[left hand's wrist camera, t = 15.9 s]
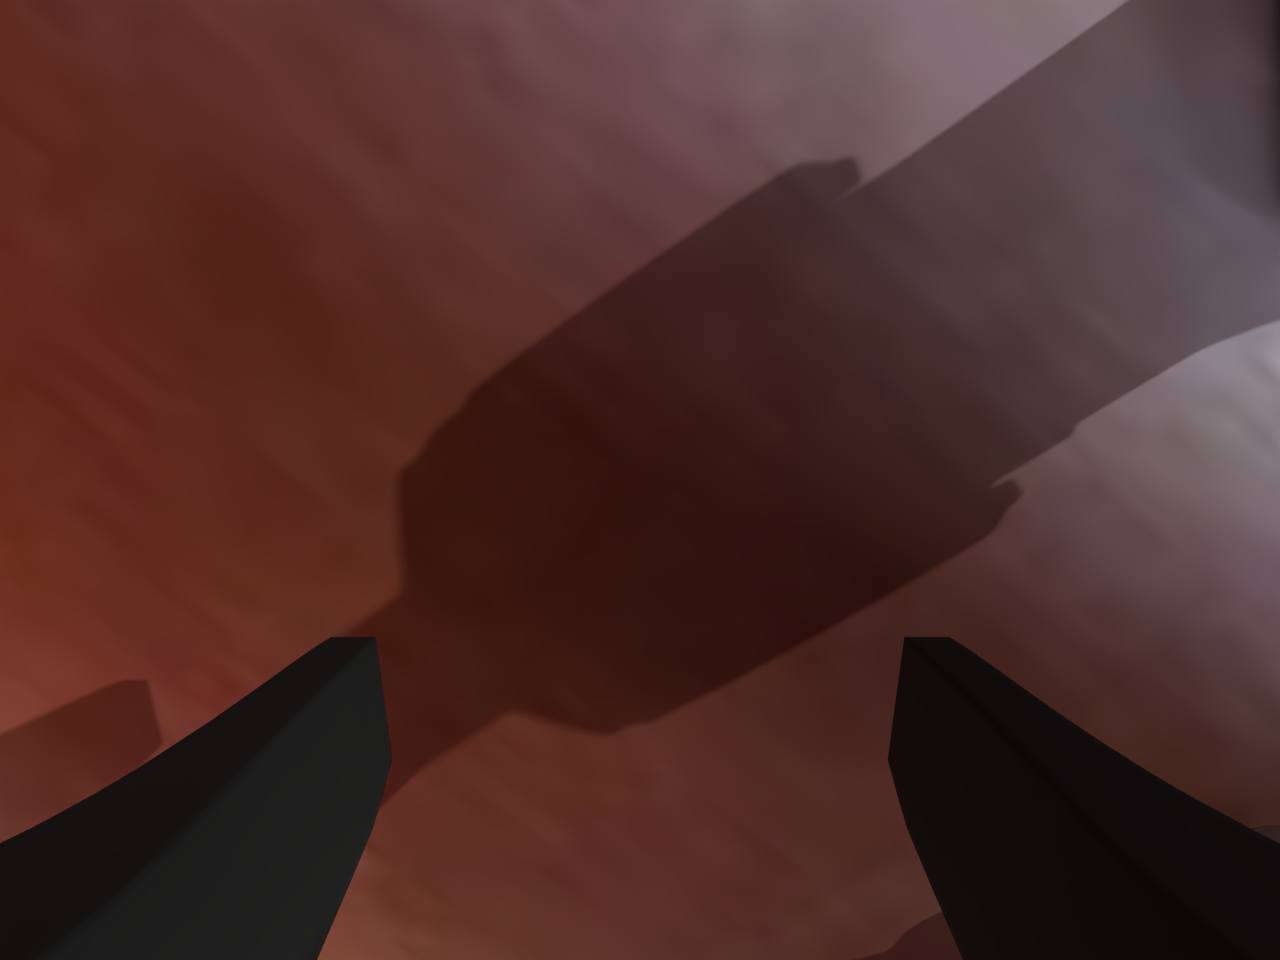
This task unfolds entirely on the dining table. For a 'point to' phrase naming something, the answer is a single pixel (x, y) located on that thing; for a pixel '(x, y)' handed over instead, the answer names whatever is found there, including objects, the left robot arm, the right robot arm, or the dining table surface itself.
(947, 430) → the dining table surface
